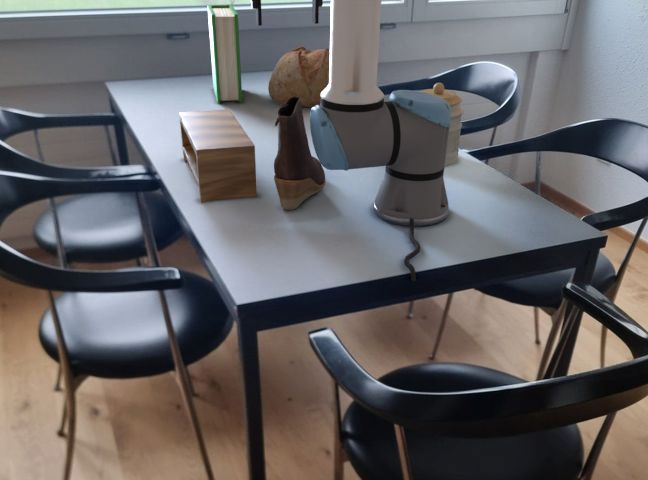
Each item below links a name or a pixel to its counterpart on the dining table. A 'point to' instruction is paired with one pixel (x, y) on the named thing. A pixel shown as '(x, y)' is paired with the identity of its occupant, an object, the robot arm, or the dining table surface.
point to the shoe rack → (218, 155)
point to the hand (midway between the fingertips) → (287, 23)
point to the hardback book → (225, 52)
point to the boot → (295, 158)
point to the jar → (454, 120)
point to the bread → (300, 76)
